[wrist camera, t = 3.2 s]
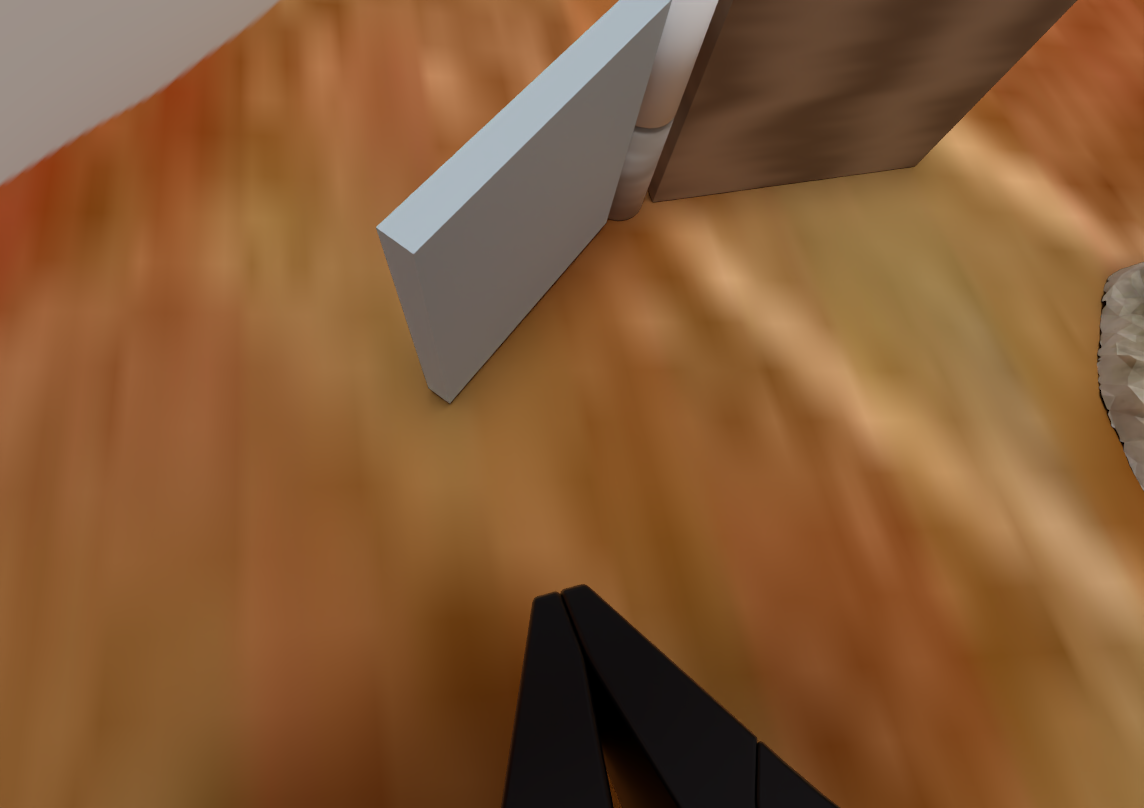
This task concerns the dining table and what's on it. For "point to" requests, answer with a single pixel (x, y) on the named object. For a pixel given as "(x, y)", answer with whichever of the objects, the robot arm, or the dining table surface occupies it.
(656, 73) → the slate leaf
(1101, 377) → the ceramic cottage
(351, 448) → the dining table surface
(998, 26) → the walnut leaf
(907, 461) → the dining table surface
